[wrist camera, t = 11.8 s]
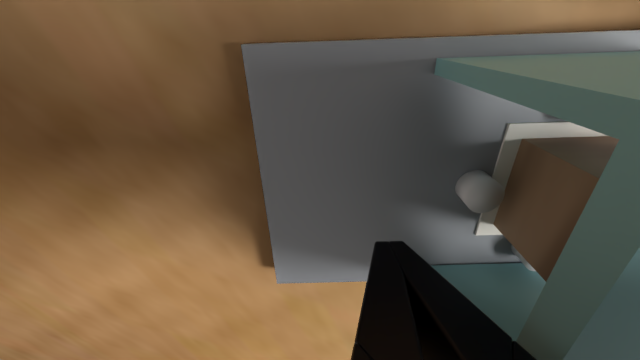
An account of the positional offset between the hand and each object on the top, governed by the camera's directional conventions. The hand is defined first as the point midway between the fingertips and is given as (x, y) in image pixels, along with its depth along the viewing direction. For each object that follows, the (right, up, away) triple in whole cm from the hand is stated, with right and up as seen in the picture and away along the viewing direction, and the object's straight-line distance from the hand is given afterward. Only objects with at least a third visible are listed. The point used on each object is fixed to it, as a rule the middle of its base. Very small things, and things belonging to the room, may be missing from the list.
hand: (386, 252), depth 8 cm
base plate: (+4, +2, +4) cm, 6 cm away
